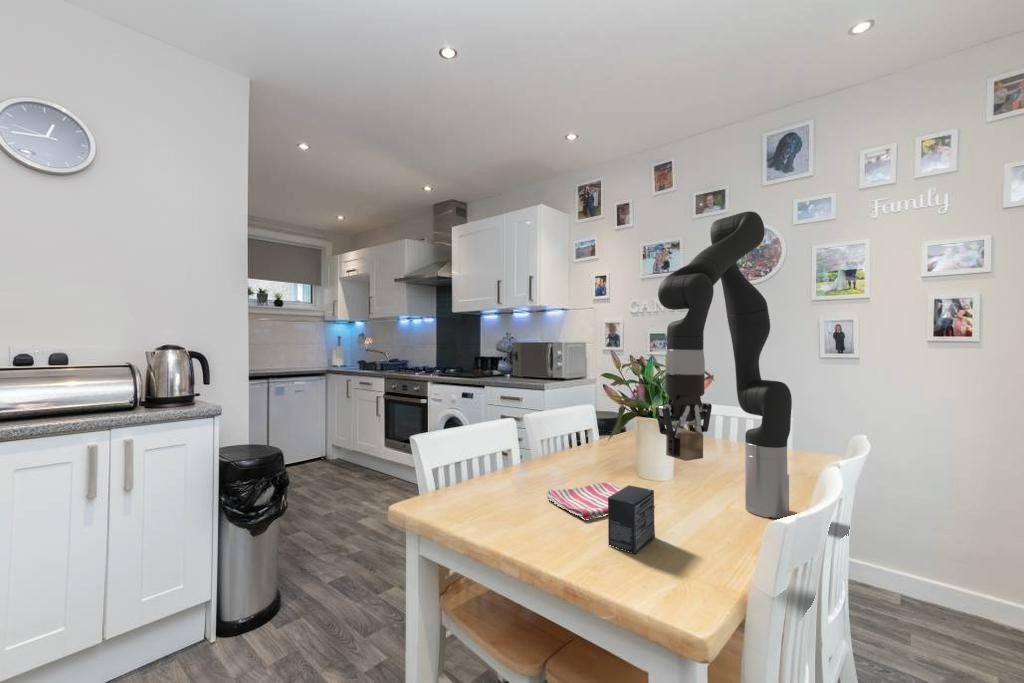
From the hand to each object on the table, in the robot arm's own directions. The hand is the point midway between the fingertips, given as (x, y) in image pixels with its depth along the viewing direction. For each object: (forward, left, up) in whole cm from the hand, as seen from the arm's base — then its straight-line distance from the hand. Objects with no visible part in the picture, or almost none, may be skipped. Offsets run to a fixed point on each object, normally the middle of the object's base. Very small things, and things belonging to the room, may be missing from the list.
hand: (684, 454), depth 90 cm
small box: (+7, -8, -20) cm, 23 cm away
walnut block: (0, 0, 0) cm, 0 cm away
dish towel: (-1, -30, -21) cm, 36 cm away
